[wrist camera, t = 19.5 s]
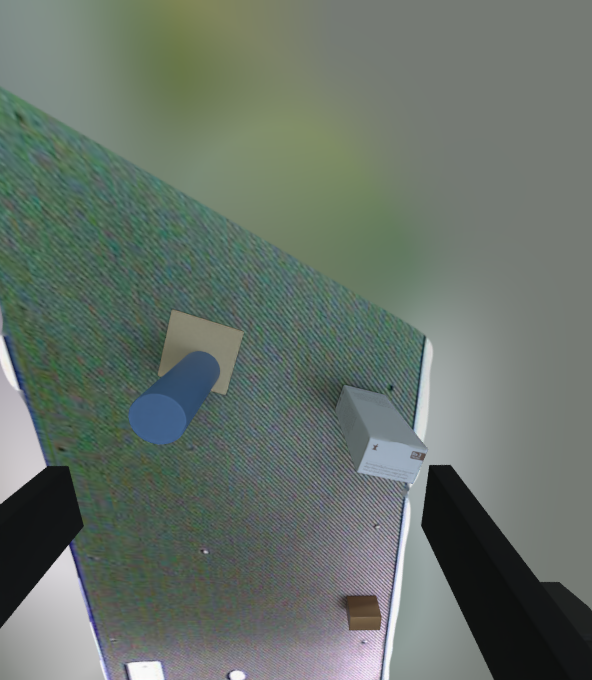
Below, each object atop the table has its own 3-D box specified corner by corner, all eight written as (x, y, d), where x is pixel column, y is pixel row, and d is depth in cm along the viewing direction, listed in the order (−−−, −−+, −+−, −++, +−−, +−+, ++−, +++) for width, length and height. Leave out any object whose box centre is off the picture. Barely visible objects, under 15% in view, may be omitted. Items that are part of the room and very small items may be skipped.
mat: (244, 331, 35) (243, 332, 35) (226, 393, 37) (225, 395, 37) (173, 309, 34) (171, 309, 34) (158, 374, 37) (157, 375, 36)
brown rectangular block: (346, 595, 48) (350, 617, 45) (376, 595, 48) (381, 617, 45) (345, 608, 48) (349, 630, 45) (374, 608, 48) (380, 630, 46)
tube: (115, 415, 24) (157, 454, 25) (157, 382, 24) (198, 424, 25) (172, 366, 36) (199, 394, 37) (201, 343, 35) (228, 372, 36)
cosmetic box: (333, 411, 38) (352, 476, 27) (343, 381, 37) (367, 436, 25) (376, 421, 39) (413, 489, 27) (387, 392, 38) (430, 450, 26)
